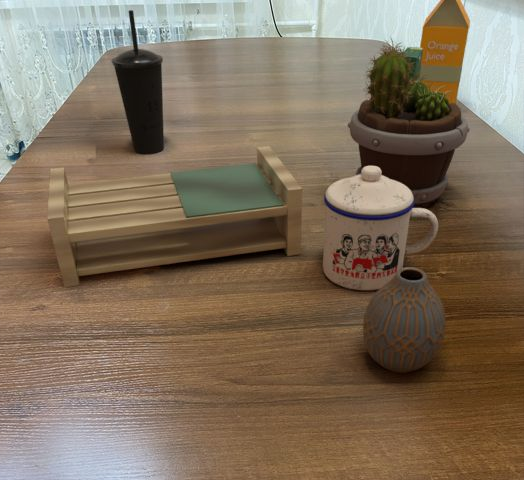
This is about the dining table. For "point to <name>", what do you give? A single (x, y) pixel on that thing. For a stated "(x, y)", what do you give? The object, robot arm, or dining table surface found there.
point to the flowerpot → (407, 128)
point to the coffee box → (414, 60)
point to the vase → (404, 322)
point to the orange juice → (444, 47)
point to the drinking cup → (141, 94)
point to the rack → (173, 217)
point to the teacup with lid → (369, 229)
